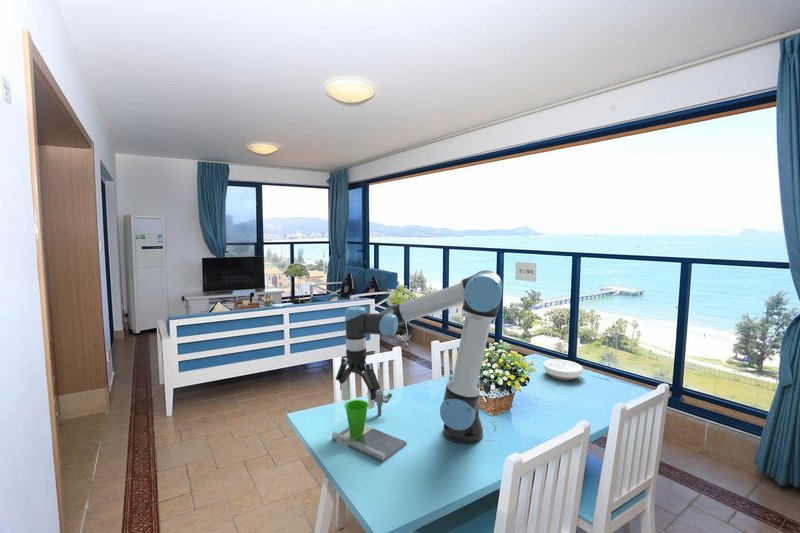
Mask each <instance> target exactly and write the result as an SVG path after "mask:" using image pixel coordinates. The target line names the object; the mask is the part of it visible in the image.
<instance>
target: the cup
mask: <svg viewBox="0 0 800 533" xmlns="http://www.w3.org/2000/svg"><path fill="white" fill-rule="evenodd" d="M344 408H345V411H346V416H347V423H348V428H349V430H350V433H351V435H353V436H359V435H362V434H363V432H364V426H365V425H366V420H367V419H366V418H367V412H368V401H365V400H363V399H353V400H349V401H347V402H346V403H345V404H344Z"/></svg>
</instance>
